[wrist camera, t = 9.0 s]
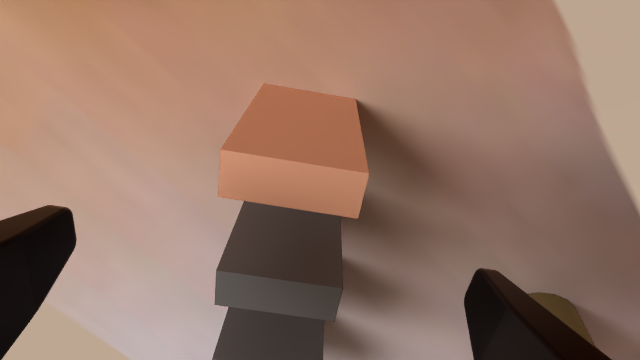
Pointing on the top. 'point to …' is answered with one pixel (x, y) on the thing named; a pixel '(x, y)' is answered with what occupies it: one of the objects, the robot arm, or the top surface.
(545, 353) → the robot arm
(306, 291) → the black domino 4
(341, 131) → the terracotta domino
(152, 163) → the top surface
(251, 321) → the grey rectangular block
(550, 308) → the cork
